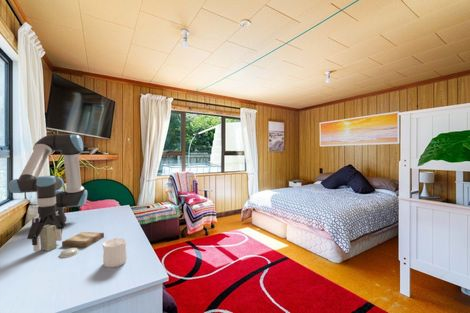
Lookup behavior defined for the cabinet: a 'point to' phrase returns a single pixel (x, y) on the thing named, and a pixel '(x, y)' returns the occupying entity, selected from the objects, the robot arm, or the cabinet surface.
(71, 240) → the tan square flat tray
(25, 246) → the cabinet surface
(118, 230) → the cabinet surface
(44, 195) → the robot arm
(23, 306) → the cabinet surface
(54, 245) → the skincare box
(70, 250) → the trinket dish
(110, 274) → the cabinet surface
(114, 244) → the cup
